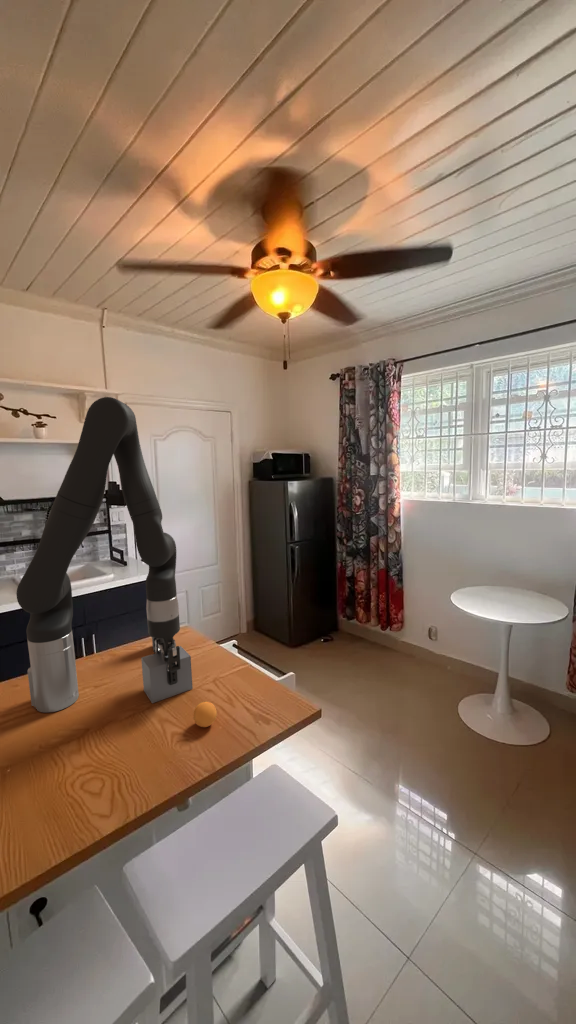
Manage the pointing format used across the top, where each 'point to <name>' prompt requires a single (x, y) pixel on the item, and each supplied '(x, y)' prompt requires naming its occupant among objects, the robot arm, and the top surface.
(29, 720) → the top surface
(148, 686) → the gray tapered block
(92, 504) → the robot arm
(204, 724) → the ball
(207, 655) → the top surface
